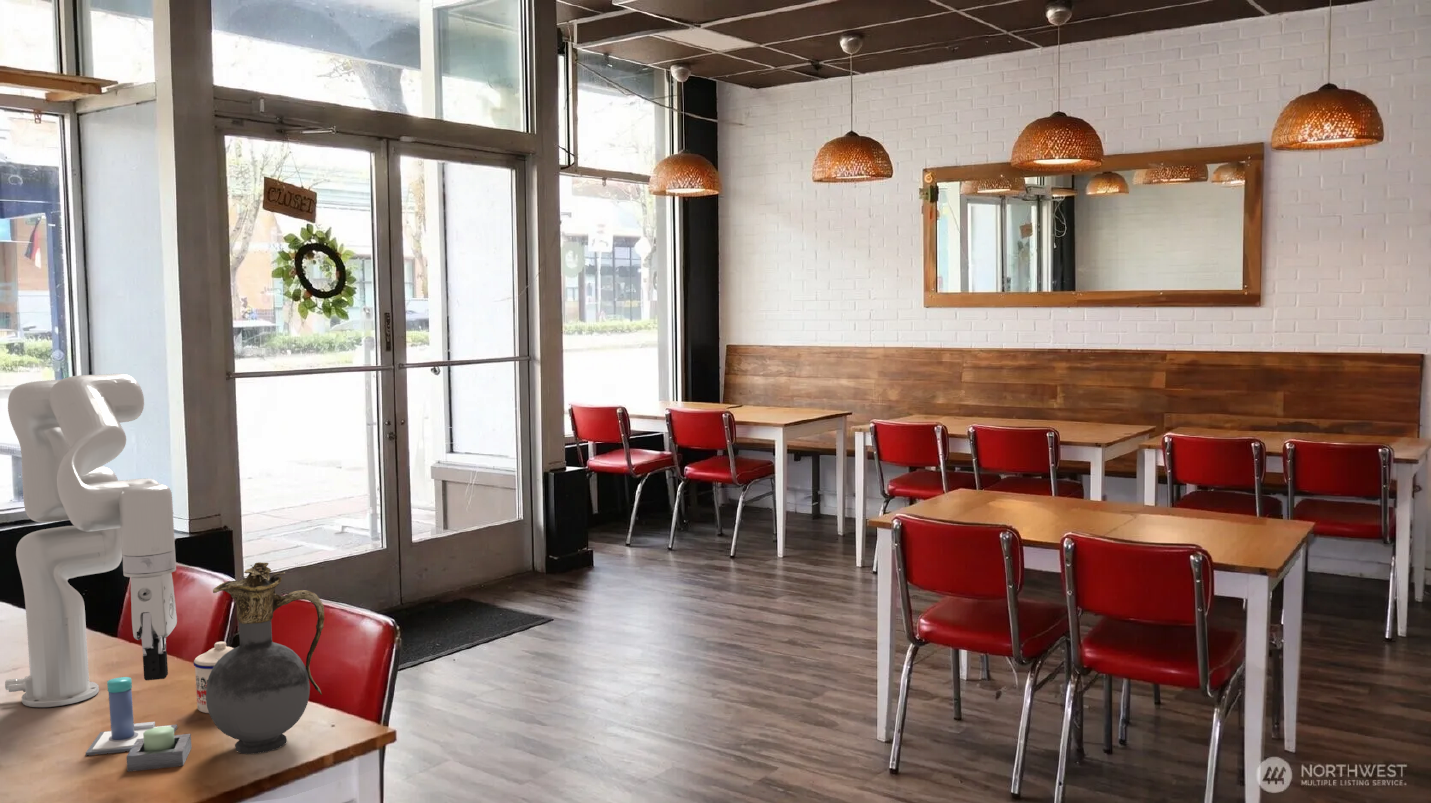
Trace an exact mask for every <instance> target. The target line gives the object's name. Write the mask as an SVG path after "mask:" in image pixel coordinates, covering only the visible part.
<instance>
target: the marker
mask: <svg viewBox="0 0 1431 803" xmlns="http://www.w3.org/2000/svg"><path fill="white" fill-rule="evenodd" d="M132 683H133V680H132V677H129V676H122V677H121V676H120V677H114V678H111V679H109V680H107V682H106V684H107V692H108V703H109V704H108V706H109V718H110V729H111V730H110V731H111V736H112V739H113V740H123V739H128V738H131V737H133V736H134V724H135V723H134V709H133V708H134V707H133V692H132V688H133V686H132V685H133V684H132Z"/></svg>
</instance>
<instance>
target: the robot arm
mask: <svg viewBox="0 0 1431 803" xmlns="http://www.w3.org/2000/svg"><path fill="white" fill-rule="evenodd" d="M144 396H145V395H144V393H143V390H142V387H141V386H140V384H139V382H138V381H137V380H136V378H134V377H133V376H131V375H129V374H126V373H106V374H101V373H100V374H85V375H83V374H82V375H81V374H80V375H73V376H69V377H68V376H67V377H65V378H63V379H51V380H50V379H49V380H48V379H47V380H37V381H31V382H25V383H22V384H19V385H17V386H15V387H14V388H13V389H12V390H11V391H10V393H9V396H8V397H7V398H8V399H7V400H8V401H7V412H8V417H9V422H10V425H11V426H12V429H13V431H14V433H15V434H14V435H15V436H16V438H17V440H18V443H19V446H20V454H21V473H22V476H21V477H22V495H23V507H24V510H25V514H26V515H27V517H28V518H29V520H31V521H34V522H38V523H53V522H55V523H57V522H63V521H64V522H65V521H70V523H71V524H72V525H65V526H58V527H51V528H46V529H45V528H44V529H39V530H36V531H32V532H30V533H28V534H26V535H24V536H23V537H21V539H20V540H19V541H18V543H17V545H16V551H15V556H16V562H17V566H18V570H19V574H20V578H21V583H22V589H23V595H24V604H25V605H24V606H25V619H26V635H27V650H28V665H29V667H28V668H29V675H28V676H24V678H12V679H8V678H7V679H5V683H4V689H5V690H6V691H8V692H9V693H15V692H20V691H23V694H22V696H21V703H22V704H23V705H24V706H26V707H30V708H53V707H60V706H66V705H71V704H76V703H79V702H82V701H83V702H84V701H86V700H89V699H91V698H93V697H94V696H96V695H98V693H99V692H100V687H99V684H98V683H96V682H94V681H90V674H89V659H88V642H87V640H88V638H87V625H86V621H87V620H86V610H85V601H84V598H83V596H82V595H81V594H80V592H79V591H78V590H77V589H75V588H74V587H73V586H72V585H70V583H69V582H68V581H69V579H74V578H77V577H83V576H84V577H85V576H90V575H95V574H102V573H107V572H110V571H113V570H116V569H117V568H118V567H119V566H120V564H121V562H122V571H123V576H124V577H127V578H130V602H131V606H130V608H131V626H132V634H133V638H134V639H135V640H137V641H140V640H141V647H142V664H143V666H142V667H143V679H144V681H155V680H165V679H166V678H167V676H168V674H169V670H168V669H169V667H168V665H169V664H168V651H167V642H166V641H167V638H168V636H169V635H171V633H172V632H173V630H174V629H176V628H175V627H177V622H178V616H177V606H176V597H175V588H174V587H175V585H174V579H173V574H172V573H173V572H177V562H176V561H177V559H176V544H175V526H174V525H175V524H174V510H173V509H174V508H173V506H174V505H173V494H172V493H173V492H172V490H171V488H170V487H169V486H168V485H165V484H162V483H159V482H158V481H157V480H156V479H152V478H148V477H147V478H132V479H126V480H125V479H124V480H123V479H122V480H120V479H118V477H117V475H116V473H115V472H114V471H113V470H112V469H111V468H109V467H107V466H105V465H106V464H108V463H110V462H111V461H113V460H114V459H116V458H117V457H118V456H119V455H121V453H122V452H123V451H124V449H125V448H126V445H127V436H126V432H125V430H124V428H123V427H122V424H121V423H128V422H132V421H135V420H137V419H139V418H140V416H141V415H142V413H143V411H144V407H145V397H144Z"/></svg>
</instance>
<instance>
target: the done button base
mask: <svg viewBox="0 0 1431 803" xmlns="http://www.w3.org/2000/svg"><path fill="white" fill-rule="evenodd" d="M174 740H175V748H174V749H167V750H157V751H147V752H144V738H142V739H137V740H136V742H135V743H134V745H133V747H132V748H131V750H130V751H128V752H127V755H126V770H127V771H126V772H128V773H129V772H139V771H146V770H147V771H148V770H158V769H164V768H166V769H167V768H176V767H184V766H185V763H186V761H187V758H188V756H189V754H190V752H191V750H192V734H191V733H183V734H174Z"/></svg>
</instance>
